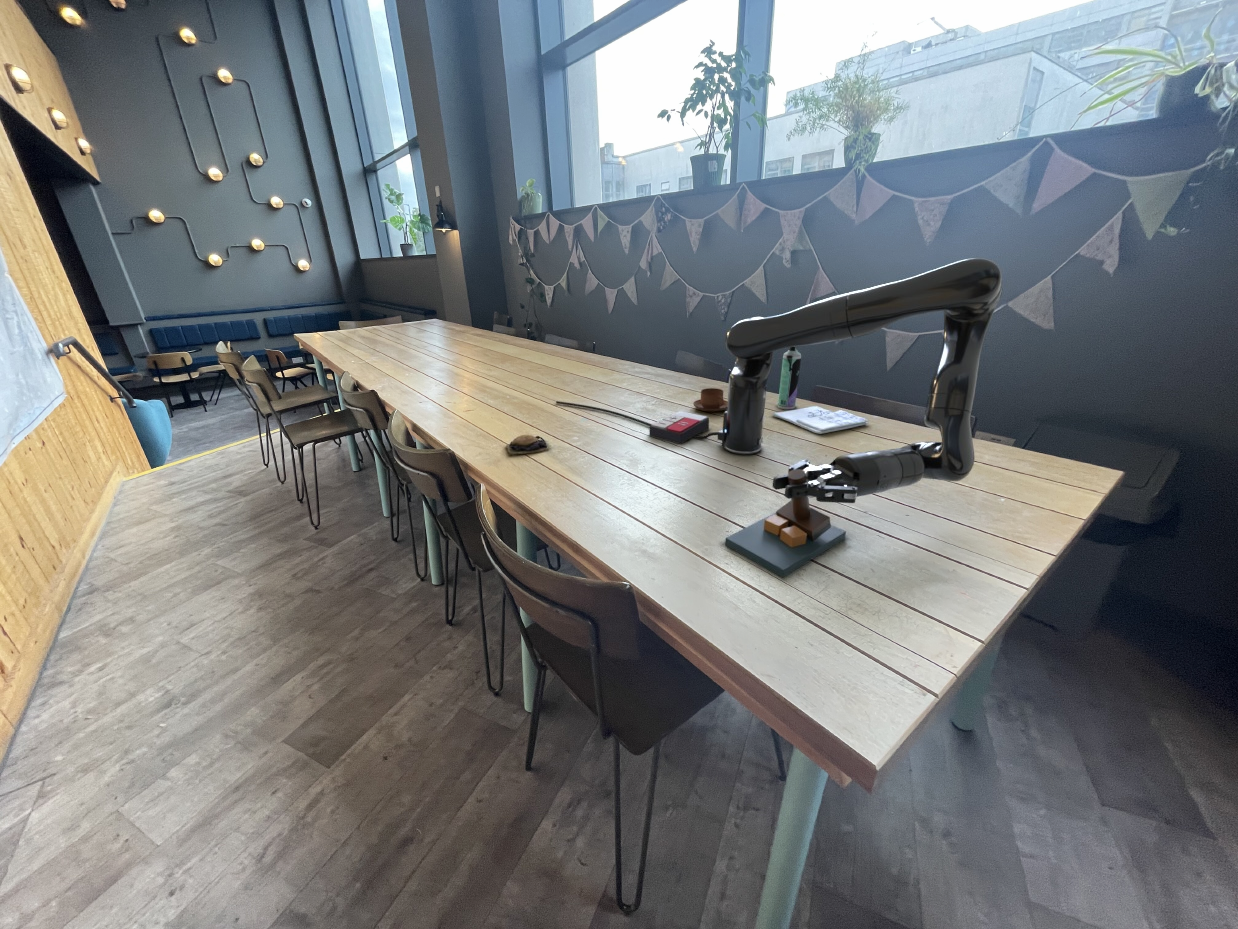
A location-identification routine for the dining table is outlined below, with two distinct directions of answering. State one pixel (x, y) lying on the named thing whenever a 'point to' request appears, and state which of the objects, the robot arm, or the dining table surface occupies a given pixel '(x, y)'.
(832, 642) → the dining table surface
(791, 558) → the tray
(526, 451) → the brown domed lump
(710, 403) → the cup and saucer
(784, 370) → the spray can
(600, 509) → the dining table surface
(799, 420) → the folded bicycle print cloth
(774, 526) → the brown wooden block
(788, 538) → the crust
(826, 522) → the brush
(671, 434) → the red-topped box
